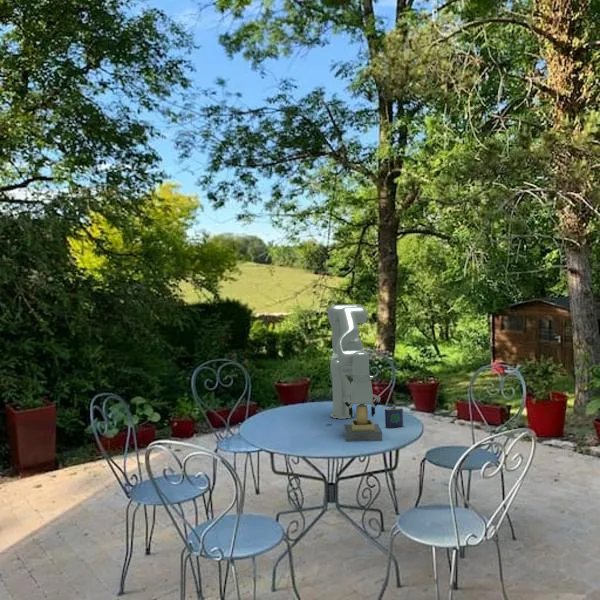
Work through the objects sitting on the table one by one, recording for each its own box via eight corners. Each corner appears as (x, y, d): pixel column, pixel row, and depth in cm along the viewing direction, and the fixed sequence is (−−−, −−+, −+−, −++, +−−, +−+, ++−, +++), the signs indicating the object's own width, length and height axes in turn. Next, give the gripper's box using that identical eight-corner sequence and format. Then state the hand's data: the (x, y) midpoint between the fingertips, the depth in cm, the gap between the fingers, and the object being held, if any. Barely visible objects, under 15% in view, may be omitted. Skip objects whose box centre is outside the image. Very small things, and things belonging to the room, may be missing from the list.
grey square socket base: (344, 432, 250) (343, 419, 250) (378, 432, 250) (377, 418, 250) (346, 441, 236) (345, 426, 236) (382, 440, 236) (381, 426, 236)
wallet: (401, 425, 261) (401, 403, 261) (404, 426, 258) (403, 405, 258) (384, 427, 259) (383, 405, 258) (387, 428, 256) (386, 406, 256)
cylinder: (356, 426, 245) (355, 402, 245) (367, 426, 245) (366, 402, 245) (357, 429, 240) (356, 404, 240) (368, 429, 240) (367, 404, 240)
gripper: (379, 377, 246) (379, 413, 246) (341, 378, 246) (342, 414, 247) (381, 379, 238) (382, 417, 239) (342, 380, 239) (343, 418, 239)
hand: (362, 416), depth 243 cm, fingers open, 9 cm apart
